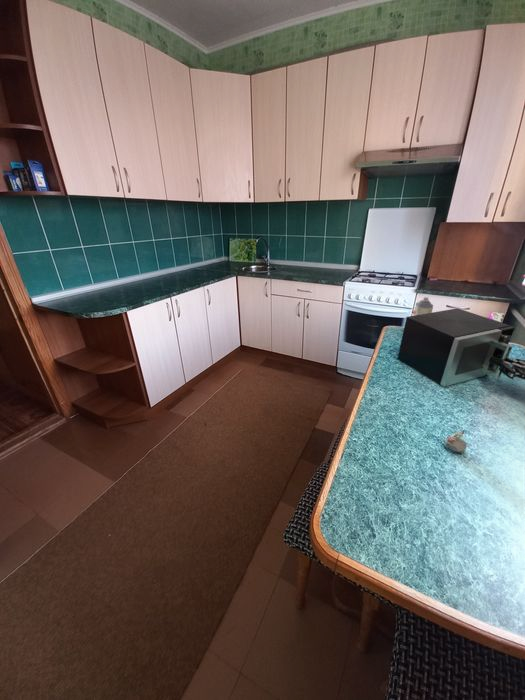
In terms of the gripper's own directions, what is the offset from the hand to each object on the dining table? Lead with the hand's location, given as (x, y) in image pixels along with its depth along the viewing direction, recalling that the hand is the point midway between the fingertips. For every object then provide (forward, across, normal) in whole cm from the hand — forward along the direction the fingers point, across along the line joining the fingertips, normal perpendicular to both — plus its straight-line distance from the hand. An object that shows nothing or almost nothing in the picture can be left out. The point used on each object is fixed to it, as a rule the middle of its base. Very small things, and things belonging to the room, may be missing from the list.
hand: (493, 358), depth 98 cm
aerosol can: (+35, -6, +9) cm, 36 cm away
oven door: (0, +7, +9) cm, 11 cm away
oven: (+13, +3, +9) cm, 16 cm away
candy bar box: (+14, -20, +9) cm, 26 cm away
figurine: (-18, +39, +10) cm, 44 cm away
